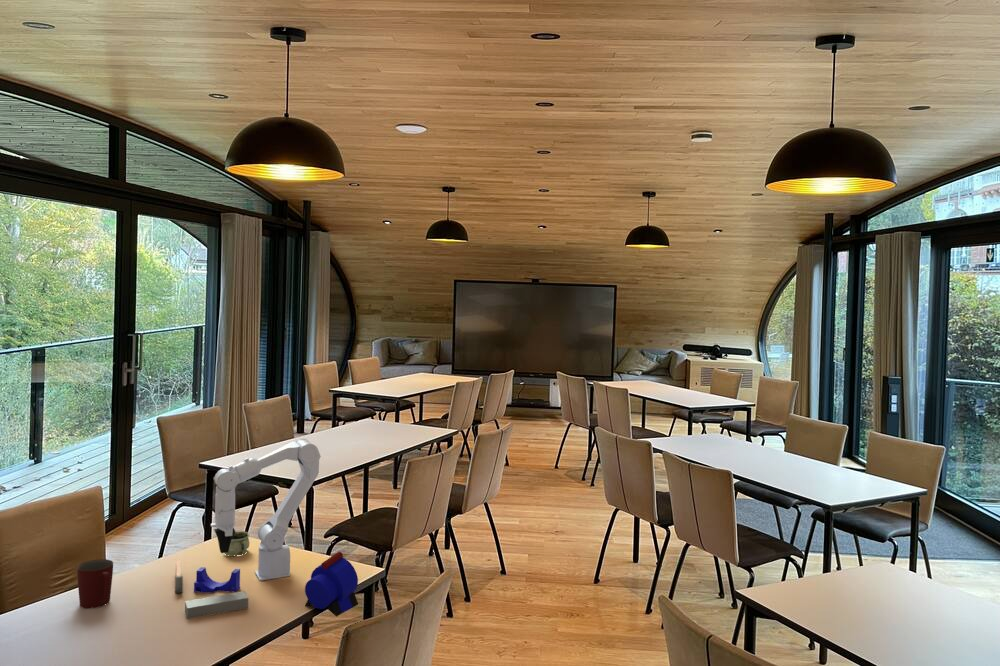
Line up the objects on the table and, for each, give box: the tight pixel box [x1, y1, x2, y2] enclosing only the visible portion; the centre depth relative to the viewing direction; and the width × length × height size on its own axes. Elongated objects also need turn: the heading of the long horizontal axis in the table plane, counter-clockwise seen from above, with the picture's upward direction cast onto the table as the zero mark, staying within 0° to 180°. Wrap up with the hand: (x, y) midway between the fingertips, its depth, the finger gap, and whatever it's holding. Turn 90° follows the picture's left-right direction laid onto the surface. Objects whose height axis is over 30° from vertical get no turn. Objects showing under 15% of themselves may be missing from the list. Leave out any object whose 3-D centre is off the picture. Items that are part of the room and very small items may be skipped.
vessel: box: [224, 530, 251, 556], centre depth 247 cm, size 12×9×6 cm
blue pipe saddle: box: [193, 566, 241, 594], centre depth 216 cm, size 12×4×6 cm, turn 89°
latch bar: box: [174, 559, 184, 594], centre depth 220 cm, size 16×2×4 cm, turn 25°
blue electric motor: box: [304, 551, 359, 617], centre depth 208 cm, size 12×12×15 cm
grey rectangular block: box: [184, 590, 249, 620], centre depth 203 cm, size 16×5×3 cm, turn 120°
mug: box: [76, 558, 114, 609], centre depth 203 cm, size 12×9×11 cm
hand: (224, 552), depth 222 cm, fingers closed
